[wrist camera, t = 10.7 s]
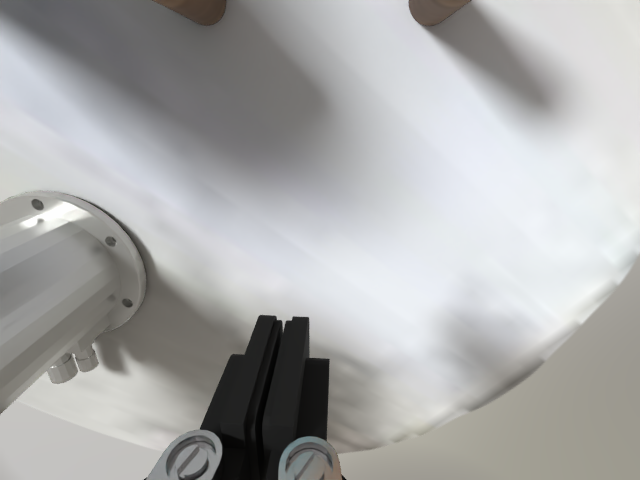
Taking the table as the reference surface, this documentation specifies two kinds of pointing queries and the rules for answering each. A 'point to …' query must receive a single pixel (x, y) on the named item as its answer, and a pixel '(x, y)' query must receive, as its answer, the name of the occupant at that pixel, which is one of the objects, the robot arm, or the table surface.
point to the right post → (434, 10)
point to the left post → (197, 9)
